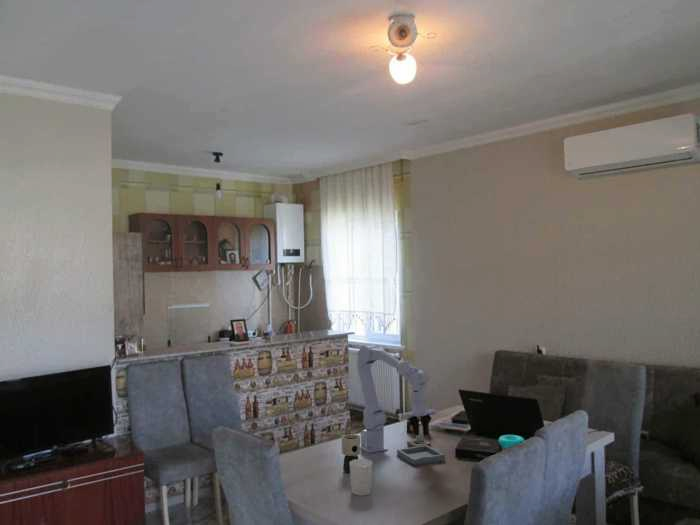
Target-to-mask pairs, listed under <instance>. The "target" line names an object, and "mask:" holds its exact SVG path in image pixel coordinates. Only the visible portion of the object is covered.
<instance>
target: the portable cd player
mask: <svg viewBox="0 0 700 525" xmlns="http://www.w3.org/2000/svg"><path fill="white" fill-rule="evenodd" d="M502 448H503V446H502V445H500V443H499V440H497V439H496V440H495V439H485V438H484V439H482V438H473V437H461V439H460V440H459V442H458V443H457V445H456V447H455V448H454V451H455V452H454V453H455V454H454V455H455V456H454V458H456V457H460V458H459V459H465V458H470V459H469V460H475V459H476V460H477V461H483V460H482V459H484V458H487V457H489V456H491V455H494V454H496V453H498V452H500V451H501V452H502V450H503V449H502ZM501 452H500V453H501Z"/></svg>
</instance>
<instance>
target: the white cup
mask: <svg viewBox="0 0 700 525" xmlns="http://www.w3.org/2000/svg"><path fill="white" fill-rule="evenodd" d="M349 464H350V472H349V477H350V485H351V486H350V487H351V494H353V495H356V496H367V495H369V494H371V493H372V484H373V483H372V482H373V461H372V460H370V459H366V458H358V459H355V460H352V461H350V463H349Z"/></svg>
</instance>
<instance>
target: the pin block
mask: <svg viewBox="0 0 700 525" xmlns="http://www.w3.org/2000/svg"><path fill="white" fill-rule="evenodd" d="M406 445H407V448H411V447H417V446H423V445H427V446H429V447H431V448H432V443H431V442H429V441H427V440H425V439H424V443H416V439H413V440H407V441H406Z"/></svg>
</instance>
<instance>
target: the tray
mask: <svg viewBox="0 0 700 525" xmlns="http://www.w3.org/2000/svg"><path fill="white" fill-rule="evenodd" d="M396 457H398V458H400V459H401V460H403V461H405V462H407V463H408V464H410V465H411V466H414V467H419V466H423V465H428V464H429V465H431V464H435V463H440V462H441V461H442V462H445V461H446V455H445V454H444V453H442V452H441V451H439V450H437V449H435V448H433V447H432V446H431V447H429V446H427V445H423V446H417V447H411V448H410V447H406V448H399V449H397V450H396Z"/></svg>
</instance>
